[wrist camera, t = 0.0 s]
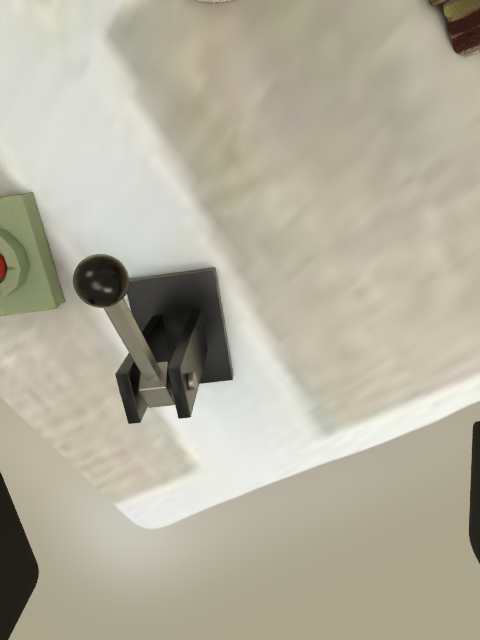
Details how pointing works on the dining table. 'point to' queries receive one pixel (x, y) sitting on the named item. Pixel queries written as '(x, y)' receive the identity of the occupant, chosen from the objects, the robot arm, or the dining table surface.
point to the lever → (123, 322)
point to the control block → (25, 259)
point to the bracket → (177, 336)
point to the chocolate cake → (463, 24)
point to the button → (2, 267)
